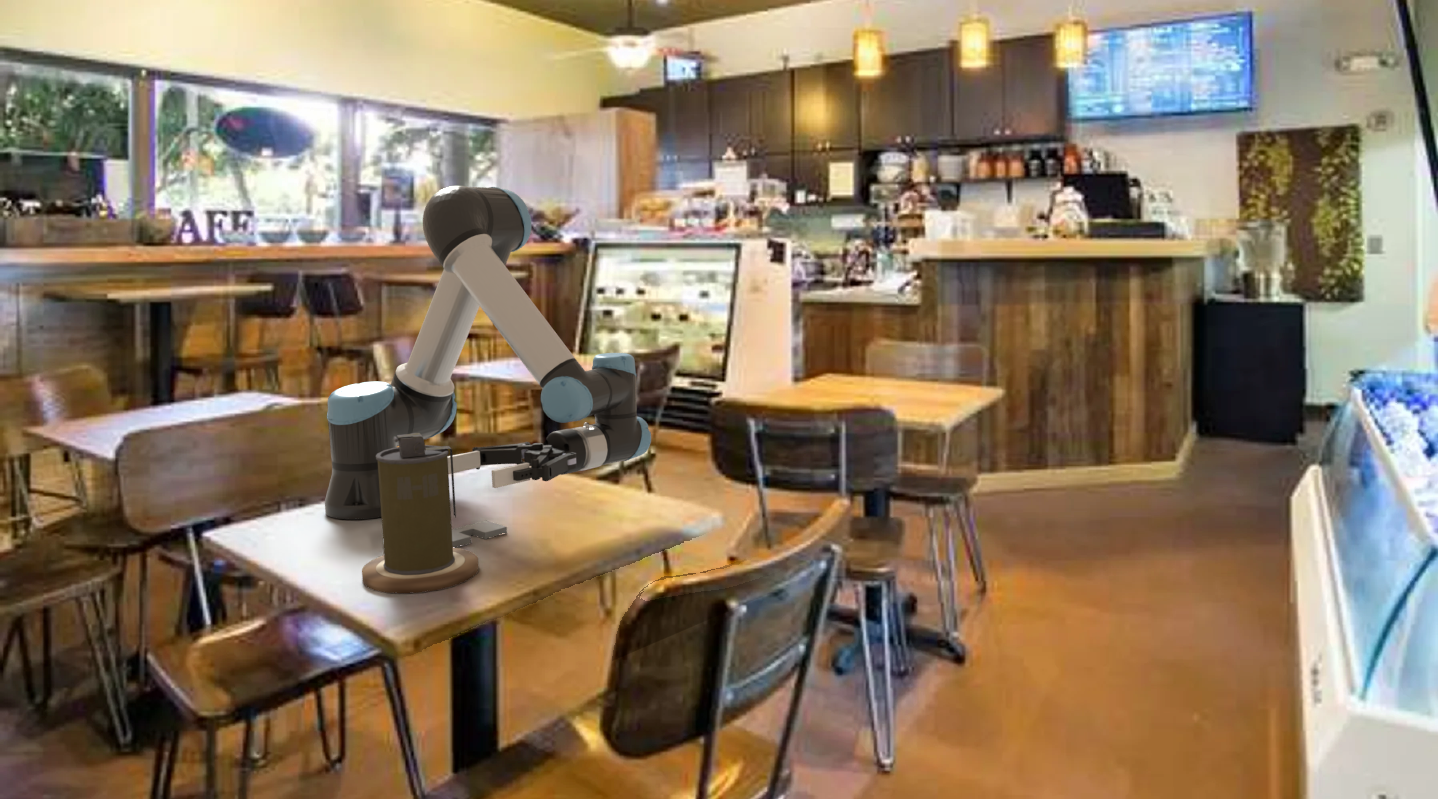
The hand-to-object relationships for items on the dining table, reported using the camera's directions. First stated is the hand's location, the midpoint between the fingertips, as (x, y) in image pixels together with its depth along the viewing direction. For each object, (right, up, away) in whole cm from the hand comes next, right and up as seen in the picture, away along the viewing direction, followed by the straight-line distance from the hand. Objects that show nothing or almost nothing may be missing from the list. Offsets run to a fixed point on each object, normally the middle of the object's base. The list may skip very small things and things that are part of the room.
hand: (467, 472), depth 157 cm
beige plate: (-6, -15, -4) cm, 17 cm away
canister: (-6, -14, -5) cm, 16 cm away
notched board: (-3, -12, +13) cm, 18 cm away
